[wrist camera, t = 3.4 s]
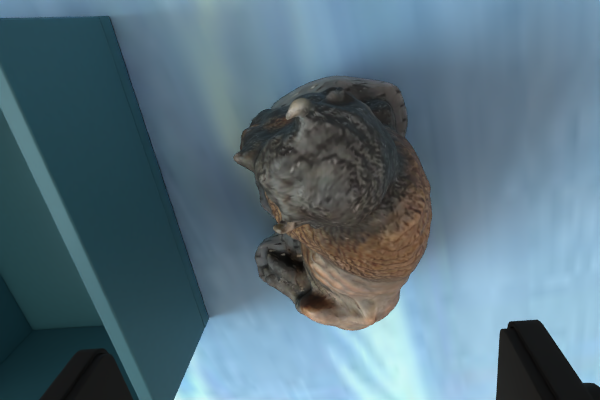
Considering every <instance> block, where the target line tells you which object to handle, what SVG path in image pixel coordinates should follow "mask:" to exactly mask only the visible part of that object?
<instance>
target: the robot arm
mask: <svg viewBox="0 0 600 400" xmlns="http://www.w3.org/2000/svg"><path fill="white" fill-rule="evenodd" d="M39 400H133V398H132V395H131V393H130V391H129V389H128V387H127V385H126V383H125V380H124V378H123V376H122V374H121V372H120V370H119V368H118V365H117V363H116V361H115V359H114V357H113V356H112V355H111V354H109V353H108V352H107V350H105V349H104V348H98V349H83V350H79V351H77V352H76V353H75V354H74V356H73V357H72V358H71V359H70V361H69V362H68V363H67V364H66V366H65V367H64V368H63V370H62V371H61V372H60V373H59V375H58V376H57V377H56V379H55V380H54V381H53V382H52V384H51V385H50V386H49V388H48V389H47V390H46V391H45V393H44V394H43V395H42V397H41V398H40V399H39ZM496 400H600V387H599V386H597V385H596V384H594V383H582V381H581V380H580V378H579V377H578V375H577V374H576V373H575V371H574V370H573V368H572V367H571V365H570V364H569V362H568V361H567V359H566V358H565V356H564V355H563V353H562V352H561V350H560V349H559V348H558V346H557V345H556V343H555V342H554V340H553V339H552V337H551V336H550V334H549V333H548V331H547V330H546V328H545V327H544V325H543V324H542V323H541V322H540V321H539V320H526V321H511V322H509V323H508V328H507V329H501V330H500V338H499V356H498V374H497V392H496Z"/></svg>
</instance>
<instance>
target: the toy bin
mask: <svg viewBox="0 0 600 400" xmlns="http://www.w3.org/2000/svg"><path fill="white" fill-rule="evenodd" d="M208 320H209V318H208V315H207V312H206V309H205V306H204V302H203V299H202V296H201V293H200V290H199V287H198V284H197V281H196V278H195V275H194V272H193V269H192V266H191V263H190V260H189V257H188V254H187V251H186V248H185V245H184V242H183V239H182V236H181V233H180V230H179V227H178V224H177V221H176V218H175V215H174V212H173V209H172V206H171V203H170V200H169V197H168V194H167V191H166V188H165V185H164V181H163V178H162V175H161V172H160V169H159V166H158V163H157V160H156V157H155V154H154V151H153V148H152V145H151V142H150V139H149V136H148V133H147V130H146V127H145V124H144V121H143V118H142V115H141V112H140V109H139V106H138V103H137V100H136V97H135V94H134V91H133V88H132V85H131V82H130V79H129V76H128V73H127V70H126V67H125V64H124V60H123V57H122V54H121V51H120V48H119V45H118V42H117V39H116V36H115V33H114V30H113V27H112V24H111V21H110V18H109V17H108V16H98V17H96V16H93V17H40V18H0V400H39V399H40V398H41V397H42V395H43V394H44V393H45V391H46V390H47V389H48V388H49V386H50V385H51V384H52V382H53V381H54V380H55V379H56V377H57V376H58V375H59V373H60V372H61V371H62V370H63V368H64V367H65V366H66V364H67V363H68V362H69V361H70V359H71V358H72V357H73V356H74V354H75V353H76V352H77V351H79V350H83V349H98V348H104V349H105V350H107V352H108V353H109V354H111V355H112V356H113V357H114V359H115V361H116V363H117V365H118V368H119V370H120V372H121V374H122V376H123V378H124V380H125V383H126V385H127V387H128V389H129V391H130V393H131V395H132V398H133V400H174V398H175V396H176V393H177V391H178V389H179V386H180V384H181V382H182V379H183V377H184V375H185V373H186V370H187V368H188V366H189V363H190V361H191V359H192V356H193V354H194V352H195V349H196V347H197V345H198V342H199V340H200V338H201V335H202V333H203V331H204V328H205V327H206V324H207V322H208Z"/></svg>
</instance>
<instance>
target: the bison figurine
mask: <svg viewBox="0 0 600 400" xmlns="http://www.w3.org/2000/svg"><path fill="white" fill-rule="evenodd" d="M407 122H408V119H407V111H406V107H405V103H404V100H403V97H402V94H401V92H400V90H399V88H398V87H396V86H395V85H393V84H391V83H387V82H384V81H379V80H372V79H363V78H355V77H348V76H330V77H326V78H322V79H318V80H315V81H312V82H309V83H307V84H305V85H303V86H301V87H299V88H297V89H295V90H293V91H292V92H290V93H289V94H287V95H285V96H284V97H282V98H281V99H280V100H278V101H277V102H276V103H274V105H273V106H272V107H271V109H266V110H263V111H262V112H260V113H259V114H258V115H257V116H256V117H255V118H253V119H252V123H251V124H250V127H249V128H247V129H245V130H244V131H243V133H242V136H241V145H240V150H241V151H239V152H238V153H236V154H235V155H234V157H233V159H234V161H236V162H237V163H238V164H240V165H242V166H243V167H245V168H247V169H249V170H250V171H252V172H254V175H255V180H256V185H257V187H258V190H259V194H260V203H261V206H262V207H263V208H264V209H265V210H266V211H267V212H268V213H269V214H270V215H271V216H272V217H273V218H275V219H276V221H277V223H278V224H276V225H274V226H273V230H274V231H275V232H276V233H274V234H273V235H272V236H271V237H269V238H267V239H265V240H264V241H263V242H261V243H260V245H259V247H258V249H257V251H256V254H255V260H256V263H257V267H258V273H259V276H260V278H261V279H262V280H263V281H264V282H266V283H267V284H268V285H270V286H272V287H274V288H276V289H277V290H279V291H280V292H281V293H283V294H284V295H286V296H287V297H289V298H290V299H291V300H292V301H293V303H294V304H295V307H296V309H297V311H298V312H299V313H301V314H304V315H305V316H307V317H308V318H310V319H311V320H313V321H316V322H318V323H321V324H324V325H331V326H336V327H338V328H341V329H344V330H352V331H353V330H360V329H363V328H366V327H368V326H369V325H372V324H374V323H375V322H377V321H380V320H381V319H383V318H384V317H386V316H387V315H388V314H389V312H390V311H392V310H393V309H394V307H395V306H396V304H397V303H398V300H399V296H400V289H401V287H402V286H403V285H404V284H405V283H406V282H407V280H408V278H409V276H410V273H411V272H412V271H413V270H414V269H415V268H416V266H417V264H418V263H419V261H420V259H421V258H422V256H423V254H424V252H425V250H426V247H427V242H428V238H429V233H430V224H431V219H432V208H431V200H430V189H431V187H430V184H429V181H428V179H427V177H426V175H425V172H424V170H423V168H422V165H421V163H420V160H419V158H418V156H417V154H416V152H415V150H414V148H413V147H412V146H411V145H410V143H409V142H408V141H407V140H406V139H405V136H406V130H407Z"/></svg>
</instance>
